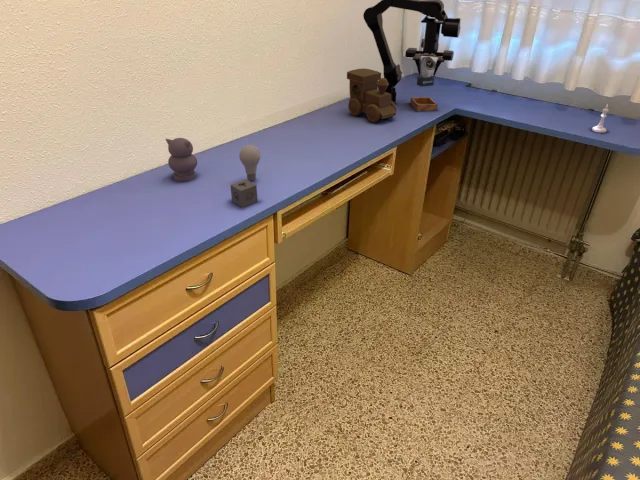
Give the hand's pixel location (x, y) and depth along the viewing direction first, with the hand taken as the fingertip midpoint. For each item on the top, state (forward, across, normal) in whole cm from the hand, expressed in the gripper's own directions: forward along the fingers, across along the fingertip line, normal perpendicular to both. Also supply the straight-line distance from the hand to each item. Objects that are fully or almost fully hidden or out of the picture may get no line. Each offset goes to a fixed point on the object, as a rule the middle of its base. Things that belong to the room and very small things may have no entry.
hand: (426, 75), depth 199 cm
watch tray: (+13, 0, 0) cm, 13 cm away
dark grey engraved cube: (+13, +36, +102) cm, 109 cm away
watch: (+4, 0, 0) cm, 4 cm away
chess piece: (+13, -67, +8) cm, 69 cm away
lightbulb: (+13, +40, +89) cm, 99 cm away
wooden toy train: (+13, +18, +19) cm, 30 cm away
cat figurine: (+13, +60, +93) cm, 111 cm away
